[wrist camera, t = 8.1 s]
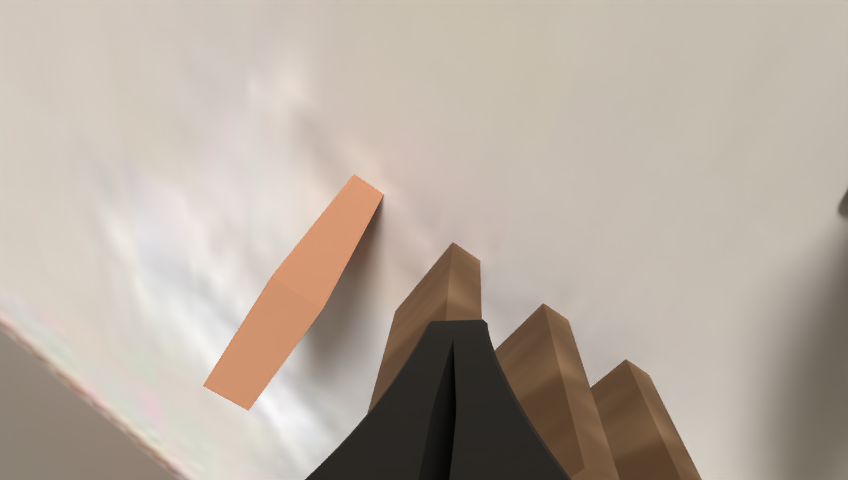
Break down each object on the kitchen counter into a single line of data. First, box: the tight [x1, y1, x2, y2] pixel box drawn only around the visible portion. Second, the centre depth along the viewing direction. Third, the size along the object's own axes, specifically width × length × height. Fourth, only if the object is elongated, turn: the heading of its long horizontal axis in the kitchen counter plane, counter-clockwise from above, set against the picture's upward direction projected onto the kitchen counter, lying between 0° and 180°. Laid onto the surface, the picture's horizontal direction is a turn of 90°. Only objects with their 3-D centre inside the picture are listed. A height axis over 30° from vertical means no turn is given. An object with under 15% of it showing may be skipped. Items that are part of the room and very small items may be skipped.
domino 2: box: [495, 303, 620, 480], centre depth 19 cm, size 2×5×9 cm, turn 145°
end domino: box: [203, 175, 384, 411], centre depth 17 cm, size 2×5×9 cm, turn 145°
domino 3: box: [590, 360, 702, 480], centre depth 20 cm, size 2×5×9 cm, turn 146°
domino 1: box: [368, 243, 482, 413], centre depth 18 cm, size 2×5×9 cm, turn 146°
